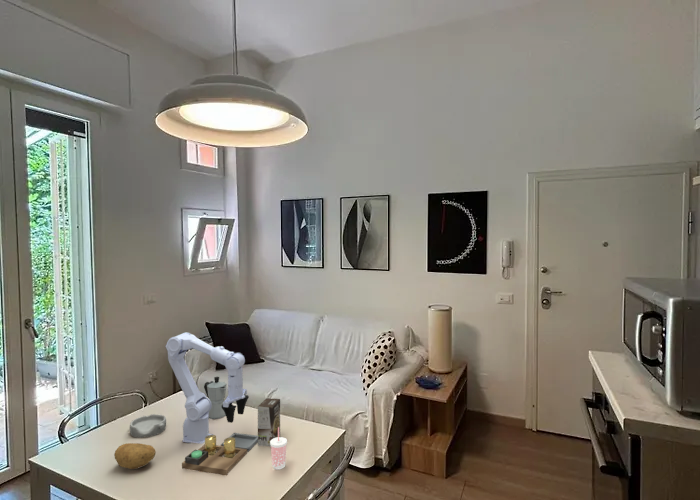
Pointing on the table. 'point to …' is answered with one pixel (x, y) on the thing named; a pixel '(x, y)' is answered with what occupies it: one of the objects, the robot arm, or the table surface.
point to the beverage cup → (278, 451)
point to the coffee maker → (216, 397)
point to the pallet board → (213, 461)
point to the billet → (229, 447)
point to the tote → (244, 441)
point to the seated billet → (210, 444)
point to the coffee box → (268, 421)
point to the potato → (134, 455)
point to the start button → (196, 454)
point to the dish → (148, 425)
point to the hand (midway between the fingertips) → (235, 417)
